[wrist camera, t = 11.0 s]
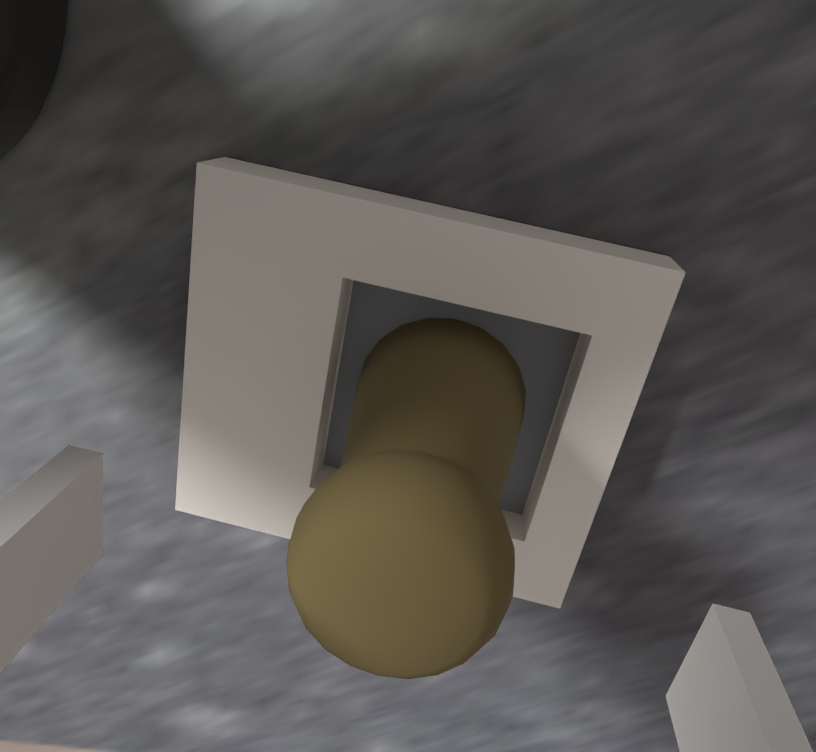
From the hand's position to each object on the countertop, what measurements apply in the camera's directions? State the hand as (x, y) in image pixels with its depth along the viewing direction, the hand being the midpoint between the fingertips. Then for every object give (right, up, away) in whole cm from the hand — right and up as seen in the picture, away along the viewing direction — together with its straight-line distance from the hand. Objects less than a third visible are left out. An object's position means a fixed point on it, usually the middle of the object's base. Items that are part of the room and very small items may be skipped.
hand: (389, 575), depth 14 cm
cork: (+2, +4, +10) cm, 10 cm away
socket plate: (0, +4, +10) cm, 11 cm away
